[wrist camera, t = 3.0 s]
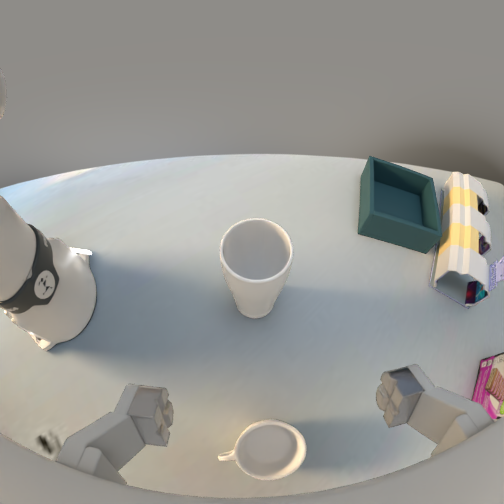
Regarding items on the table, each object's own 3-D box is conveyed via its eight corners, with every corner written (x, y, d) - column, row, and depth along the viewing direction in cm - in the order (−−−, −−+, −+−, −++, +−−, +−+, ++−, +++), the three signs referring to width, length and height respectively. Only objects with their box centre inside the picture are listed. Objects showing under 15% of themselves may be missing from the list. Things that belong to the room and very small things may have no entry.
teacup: (291, 409, 31) (297, 412, 26) (304, 459, 27) (313, 470, 22) (214, 425, 30) (207, 432, 25) (228, 476, 26) (224, 489, 21)
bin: (357, 233, 43) (369, 213, 38) (360, 177, 49) (369, 155, 44) (425, 253, 41) (442, 236, 36) (420, 196, 47) (432, 178, 42)
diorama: (468, 309, 36) (517, 279, 24) (428, 285, 38) (474, 247, 27) (474, 211, 46) (504, 175, 35) (440, 190, 49) (468, 148, 37)
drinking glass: (264, 270, 40) (269, 206, 27) (288, 309, 37) (309, 260, 24) (221, 291, 38) (206, 235, 25) (245, 333, 36) (241, 297, 22)
